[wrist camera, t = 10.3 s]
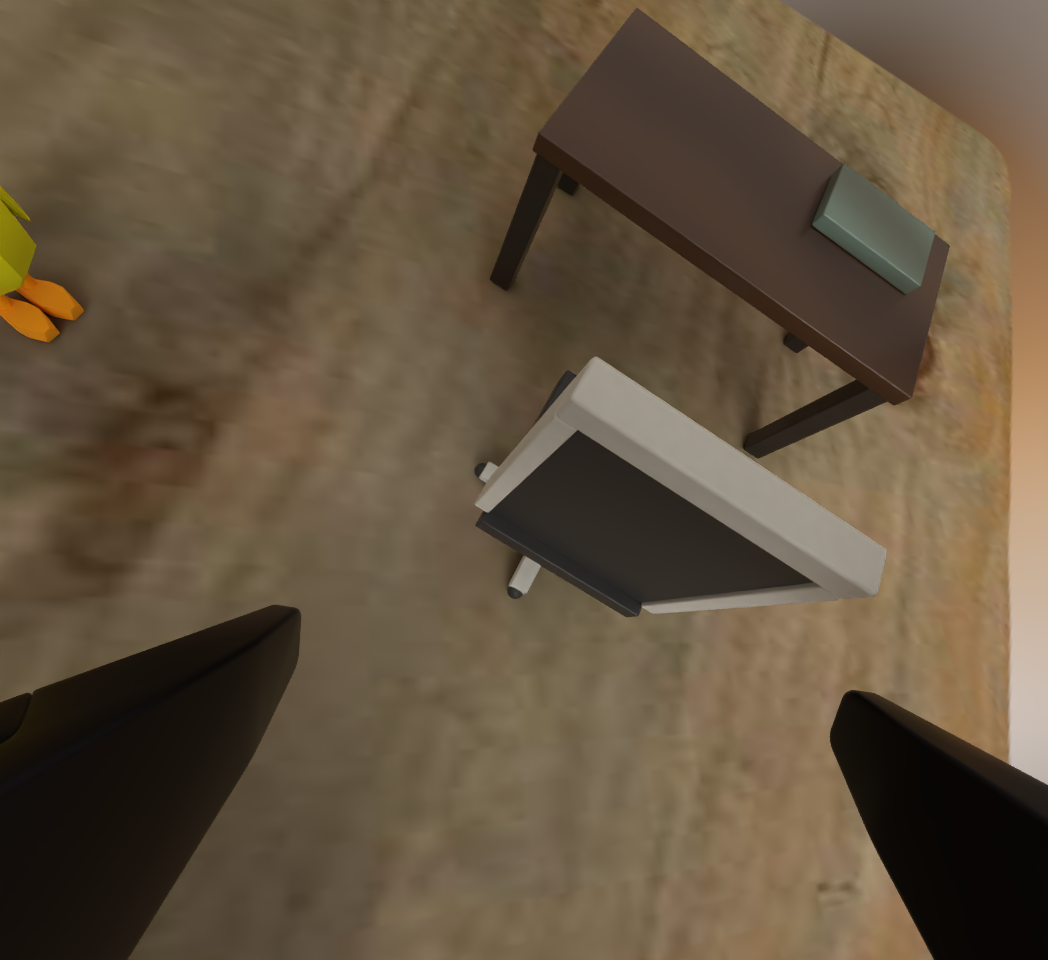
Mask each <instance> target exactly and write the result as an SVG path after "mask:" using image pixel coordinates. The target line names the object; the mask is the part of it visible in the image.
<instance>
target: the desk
mask: <svg viewBox="0 0 1048 960" xmlns="http://www.w3.org/2000/svg"><path fill="white" fill-rule="evenodd" d="M533 151H534V152H535V153H537V155H536V158H535V160H534V163H533V166H532V168H531V171H530V174H529V176H528V179H527V182H526V184H525V187H524V189H523V192H522V195H521V197H520V200H519V203H518V205H517V208H516V211H515V213H514V216H513V219H512V221H511V224H510V227H509V229H508V232H507V235H506V237H505V240H504V243H503V245H502V248H501V251H500V253H499V256H498V258H497V261H496V264H495V266H494V269H493V272H492V274H491V277H490V280H491V281H492V282H494V283H495V284H497V285H498V286H500V287H501V288H503V289H504V290H506V291H507V290H508V289H509V287H510V286H511V284H512V283H513V281H514V280H515V278H516V276H517V274H518V272H519V270H520V268H521V265H522V263H523V261H524V259H525V256H526V254H527V252H528V250H529V247H530V245H531V243H532V241H533V239H534V236H535V234H536V232H537V230H538V227H539V225H540V223H541V221H542V218H543V216H544V214H545V212H546V210H547V207H548V205H549V203H550V201H551V198H552V196H553V194H554V192H555V189H556V187H557V185H558V186H559V187H560V188H562V189H563V190H565V191H566V192H568V193H569V194H570V195H573V194H574V193H575V191H576V190H577V189H578V187H579V186H580V184H581V185H582V186H583V187H585V188H586V189H588V190H589V191H590V192H592V193H593V194H595V195H596V196H598V197H599V198H600V199H602V200H603V201H605V202H606V203H607V204H609V205H610V206H612V207H613V208H615V209H616V210H617V211H619V212H620V213H622V214H623V215H624V216H626V217H627V218H629V219H630V220H632V221H633V222H634V223H636V224H637V225H639V226H640V227H641V228H643V229H644V230H646V231H647V232H648V233H650V234H651V235H653V236H654V237H656V238H657V239H658V240H660V241H661V242H663V243H664V244H665V245H667V246H668V247H670V248H671V249H673V250H674V251H675V252H677V253H678V254H680V255H681V256H682V257H684V258H685V259H687V260H688V261H690V262H691V263H692V264H694V265H695V266H697V267H698V268H699V269H701V270H702V271H704V272H705V273H707V274H708V275H709V276H711V277H712V278H714V279H715V280H716V281H718V282H719V283H721V284H722V285H724V286H725V287H726V288H728V289H729V290H731V291H732V292H733V293H735V294H736V295H738V296H739V297H741V298H742V299H743V300H745V301H746V302H748V303H749V304H750V305H752V306H753V307H755V308H756V309H758V310H759V311H760V312H762V313H763V314H765V315H766V316H767V317H769V318H770V319H772V320H773V321H775V322H776V323H777V324H779V325H780V326H782V327H783V328H784V329H786V330H787V331H789V332H788V335H787V337H786V340H785V342H784V344H785V345H786V346H787V347H789V348H790V349H792V350H793V351H795V352H796V353H798V352H800V351H801V350H803V349H804V348H806V347H807V346H810V347H811V348H813V349H814V350H816V351H817V352H818V353H820V354H821V355H823V356H824V357H826V358H827V359H828V360H830V361H831V362H833V363H834V364H835V365H837V366H838V367H840V368H841V369H843V370H844V371H845V372H847V373H848V374H850V375H851V376H852V377H854V378H855V379H857V380H855V381H853V382H851V383H849V384H847V385H845V386H843V387H841V388H839V389H837V390H835V391H833V392H831V393H829V394H827V395H825V396H823V397H821V398H819V399H817V400H815V401H814V402H812V403H810V404H808V405H806V406H804V407H802V408H800V409H798V410H796V411H794V412H792V413H790V414H788V415H786V416H784V417H782V418H780V419H778V420H776V421H774V422H773V423H771V424H769V425H767V426H765V427H763V428H761V429H759V430H757V431H755V432H753V433H751V434H749V436H748V438H747V441H746V443H745V446H744V450H746V451H747V452H749V453H750V454H752V455H753V456H755V457H756V458H760V457H763V456H765V455H767V454H769V453H772V452H774V451H776V450H779V449H781V448H783V447H785V446H788V445H790V444H792V443H794V442H797V441H799V440H801V439H804V438H806V437H808V436H810V435H813V434H815V433H817V432H819V431H822V430H824V429H826V428H828V427H831V426H833V425H835V424H838V423H840V422H842V421H844V420H847V419H849V418H851V417H853V416H856V415H858V414H860V413H863V412H865V411H867V410H869V409H872V408H874V407H876V406H878V405H881V404H883V403H885V402H889V403H891V404H892V405H897V404H899V403H901V402H904V401H906V400H908V399H911V398H912V396H913V392H914V387H915V383H916V379H917V375H918V371H919V367H920V363H921V359H922V355H923V351H924V347H925V343H926V339H927V335H928V331H929V327H930V323H931V319H932V315H933V311H934V307H935V303H936V299H937V295H938V291H939V287H940V283H941V279H942V275H943V271H944V267H945V263H946V259H947V255H948V251H949V247H950V246H949V244H947V243H946V242H945V241H943V240H942V239H941V238H939V237H938V236H937V235H935V231H933V230H932V229H931V228H929V227H928V226H927V225H926V224H924V223H923V222H922V221H920V220H919V219H918V218H916V217H915V216H914V215H912V214H911V213H910V212H908V211H907V210H906V209H904V208H903V207H902V206H901V205H899V204H898V203H897V202H895V201H894V200H893V199H891V198H890V197H889V196H887V195H886V194H885V193H883V192H882V191H881V190H880V189H878V188H877V187H876V186H874V185H873V184H872V183H870V182H869V181H868V180H866V179H865V178H864V177H862V176H861V175H860V174H859V173H857V172H856V171H855V170H853V169H852V168H851V167H849V166H848V165H847V164H845V163H844V164H842V163H841V162H839V161H838V160H837V159H836V158H834V157H833V156H832V155H830V154H829V153H828V152H826V151H825V150H824V149H822V148H821V147H820V146H818V145H817V144H816V143H814V142H813V141H812V140H811V139H809V138H808V137H807V136H805V135H804V134H803V133H801V132H800V131H799V130H797V129H796V128H795V127H793V126H792V125H791V124H789V123H788V122H787V121H786V120H784V119H783V118H782V117H780V116H779V115H778V114H776V113H775V112H774V111H772V110H771V109H770V108H768V107H767V106H766V105H764V104H763V103H762V102H761V101H759V100H758V99H757V98H755V97H754V96H753V95H751V94H750V93H749V92H747V91H746V90H745V89H743V88H742V87H741V86H740V85H738V84H737V83H736V82H734V81H733V80H732V79H730V78H729V77H728V76H726V75H725V74H724V73H722V72H721V71H720V70H718V69H717V68H716V67H715V66H713V65H712V64H711V63H709V62H708V61H707V60H705V59H704V58H703V57H701V56H700V55H699V54H697V53H696V52H695V51H693V50H692V49H691V48H690V47H688V46H687V45H686V44H684V43H683V42H682V41H680V40H679V39H678V38H676V37H675V36H674V35H672V34H671V33H670V32H668V31H667V30H666V29H665V28H663V27H662V26H661V25H659V24H658V23H657V22H655V21H654V20H653V19H651V18H650V17H649V16H647V15H646V14H645V13H644V12H642V11H641V10H640V9H638V8H636V9H635V10H634V12H633V13H632V14H631V15H630V17H629V18H628V19H627V21H626V22H625V23H624V24H623V26H622V27H621V28H620V29H619V31H618V32H617V33H616V35H615V36H614V37H613V38H612V40H611V41H610V42H609V43H608V45H607V46H606V47H605V49H604V50H603V51H602V52H601V54H600V55H599V56H598V57H597V59H596V60H595V61H594V63H593V64H592V65H591V66H590V68H589V69H588V70H587V72H586V73H585V74H584V75H583V77H582V78H581V79H580V80H579V82H578V83H577V84H576V86H575V87H574V88H573V89H572V91H571V92H570V93H569V94H568V96H567V97H566V98H565V100H564V101H563V102H562V103H561V105H560V106H559V107H558V108H557V110H556V111H555V112H554V114H553V115H552V116H551V117H550V119H549V120H548V121H547V123H546V124H545V125H544V126H543V128H542V129H541V130H540V131H539V133H538V136H537V138H536V141H535V144H534V147H533Z"/></svg>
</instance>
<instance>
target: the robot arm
mask: <svg viewBox="0 0 1048 960" xmlns="http://www.w3.org/2000/svg"><path fill="white" fill-rule="evenodd" d="M300 629H301V613H300V611H299V609H298V608H295V607H288V606H281V605H271V606H268V607H265V608H263V609H260V610H257V611H254V612H251V613H249V614H246V615H243V616H240V617H238V618H235V619H232V620H229V621H226V622H224V623H221V624H218V625H215V626H212V627H210V628H207V629H204V630H201V631H198V632H196V633H193V634H190V635H187V636H184V637H182V638H179V639H176V640H173V641H171V642H168V643H165V644H162V645H159V646H157V647H154V648H151V649H148V650H145V651H143V652H140V653H137V654H134V655H131V656H129V657H126V658H123V659H120V660H117V661H115V662H112V663H109V664H106V665H104V666H101V667H98V668H95V669H92V670H90V671H87V672H84V673H81V674H78V675H76V676H73V677H70V678H67V679H64V680H62V681H59V682H56V683H53V684H50V685H48V686H45V687H42V688H39V689H37V690H35V691H34V692H33V694H32V695H31V694H30V693H25V694H22V695H19V696H16V697H14V698H11V699H8V700H5V701H3V702H0V960H128V958H129V956H130V955H131V953H132V952H133V950H134V948H135V947H136V945H137V944H138V942H139V940H140V939H141V937H142V935H143V934H144V932H145V931H146V929H147V927H148V926H149V924H150V923H151V921H152V919H153V918H154V916H155V914H156V913H157V911H158V910H159V908H160V906H161V905H162V903H163V902H164V900H165V898H166V897H167V895H168V893H169V892H170V890H171V889H172V887H173V885H174V884H175V882H176V881H177V879H178V877H179V876H180V874H181V873H182V871H183V869H184V868H185V866H186V864H187V863H188V861H189V860H190V858H191V856H192V855H193V853H194V852H195V850H196V848H197V847H198V845H199V843H200V842H201V840H202V839H203V837H204V835H205V834H206V832H207V831H208V829H209V827H210V826H211V824H212V822H213V821H214V819H215V818H216V816H217V814H218V813H219V811H220V810H221V808H222V806H223V805H224V803H225V801H226V800H227V798H228V797H229V795H230V793H231V792H232V790H233V789H234V787H235V785H236V784H237V782H238V780H239V779H240V777H241V776H242V774H243V772H244V771H245V769H246V767H247V766H248V764H249V762H250V760H251V759H252V757H253V755H254V753H255V751H256V749H257V747H258V745H259V743H260V741H261V739H262V737H263V735H264V733H265V731H266V729H267V727H268V725H269V723H270V720H271V718H272V716H273V714H274V712H275V710H276V708H277V706H278V704H279V702H280V700H281V697H282V695H283V693H284V691H285V689H286V687H287V685H288V683H289V681H290V679H291V677H292V674H293V672H294V670H295V668H296V665H297V661H298V656H299V644H300ZM830 743H831V747H832V750H833V752H834V754H835V757H836V759H837V762H838V764H839V766H840V769H841V771H842V773H843V776H844V778H845V780H846V783H847V785H848V787H849V790H850V792H851V794H852V797H853V799H854V802H855V804H856V806H857V809H858V811H859V813H860V816H861V818H862V820H863V823H864V825H865V827H866V830H867V832H868V834H869V836H870V838H871V841H872V843H873V845H874V847H875V849H876V851H877V853H878V855H879V857H880V859H881V861H882V862H883V864H884V866H885V868H886V870H887V872H888V874H889V876H890V878H891V879H892V881H893V883H894V885H895V887H896V889H897V891H898V893H899V895H900V896H901V898H902V900H903V902H904V904H905V906H906V908H907V910H908V912H909V914H910V915H911V917H912V919H913V921H914V923H915V925H916V927H917V929H918V931H919V932H920V934H921V936H922V938H923V940H924V942H925V944H926V946H927V948H928V950H929V951H930V953H931V955H932V957H933V959H934V960H1048V785H1047V784H1045V783H1043V782H1041V781H1039V780H1037V779H1035V778H1033V777H1032V776H1030V775H1028V774H1026V773H1024V772H1022V771H1020V770H1018V769H1016V768H1015V767H1012V766H1011V765H1009V764H1007V763H1005V762H1003V761H1001V760H1000V759H998V758H996V757H994V756H992V755H990V754H988V753H986V752H985V751H983V750H981V749H979V748H977V747H975V746H973V745H971V744H970V743H968V742H966V741H964V740H962V739H960V738H958V737H956V736H954V735H953V734H951V733H949V732H947V731H945V730H943V729H941V728H939V727H938V726H936V725H934V724H932V723H930V722H928V721H926V720H924V719H923V718H921V717H919V716H917V715H915V714H913V713H911V712H909V711H907V710H906V709H904V708H902V707H900V706H898V705H896V704H894V703H892V702H891V701H889V700H887V699H885V698H883V697H881V696H879V695H877V694H875V693H871V692H864V691H857V690H850V691H848V692H846V693H845V694H844V696H843V698H842V700H841V703H840V706H839V709H838V711H837V714H836V717H835V720H834V722H833V725H832V728H831V731H830Z"/></svg>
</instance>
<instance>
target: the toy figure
mask: <svg viewBox="0 0 1048 960" xmlns="http://www.w3.org/2000/svg"><path fill="white" fill-rule="evenodd" d="M14 215H15V216H18V217H21V218H23V219H26V220H28V221H30V219H29V217H28V216H27V214H26V213H25V212H24V211H23V210H22V208H21V207H20V206H19V205H18V204H17V202H16V201H15V200H14V199H13V198H12V197H11V196H10V195H9V194H8V193H7V192H6V191H5V190H4V189H3V188H2V187H1V186H0V315H1V316H2V317H3V318H4V319H5V320H6V321H7V322H8V323H9V324H10V325H12V326H13V327H14V328H15V329H16V330H17V331H18V332H20V333H22V334H23V335H25V336H27V337H29V338H32V339H36V340H40V341H44V342H48V343H50V342H51V341H52V340H53V339H54V338H55V337H56V336H58V335H59V334H60V332H59V331H58V330H57V328H56V327H55V326H54V324H53V323H52V322H51V321H50V319H49V318H48V317H47V316H46V315H45V314H44V313H43V312H45V313H47V314H49V315H51V316H53V317H57V318H62V319H67V320H72V321H75V320H76V319H77V318H78V317H79V316H80V315H81V314H82V313H83V312H84V310H83V308H82V307H81V306H80V304H79V303H78V302H77V301H76V300H75V299H74V298H73V297H72V296H71V295H70V294H69V293H68V292H67V291H66V290H65V289H64V288H63V287H62V286H59V285H57V284H54V283H52V282H48V281H43V280H37V279H33V278H32V276H31V275H30V274H29V273H28V270H29V267H30V264H31V261H32V258H33V255H34V252H35V249H36V246H37V245H36V244H35V243H34V241H33V240H32V239H31V237H30V236H29V235H28V233H27V232H26V231H25V230H24V228H23V227H22V226H21V224H20V223H19V222H18V220H17V219H16V218H15V216H14ZM14 290H16V291H17V292H18V293H20V294H21V295H22V296H24V297H25V298H26V299H27V300H29V301H30V302H31V303H33V304H34V305H35V306H37V307H38V308H37V307H35V306H33V305H31V304H29V303H27V302H23V301H20V300H16V299H12V298H8V297H6V296H5V295H4V294H6V293H9V292H11V291H14ZM40 309H41V310H42V311H43V312H42V311H41V310H40Z"/></svg>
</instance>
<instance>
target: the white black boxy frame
mask: <svg viewBox="0 0 1048 960" xmlns="http://www.w3.org/2000/svg"><path fill="white" fill-rule="evenodd" d="M475 474H476V476H477V477H478V478H479V479H481V480H482V481H484V482H486V485H485V486H484V488H483V490H482V491H481V493H480V495H479V496H478V498H477V500H476V502H475V506H477V507H479V508H480V509H482V510H484V511H483V512H482V514H481V516H480V517H479V519H478V521H477V523H476V527H478V528H480V529H481V530H483V531H485V532H486V533H488V534H490V535H491V536H493V537H495V538H496V539H498V540H500V541H501V542H503V543H505V544H506V545H508V546H509V547H511V548H513V549H514V550H516V551H518V552H519V553H521V554H523V555H524V556H523V558H522V560H521V562H520V563H519V565H518V567H517V569H516V571H515V573H514V575H513V577H512V579H511V580H510V582H509V586H508V589H507V591H508V594H509V596H510V597H511V598H514V599H517V598H520V597H521V596H522V595H523V594H527V592H528V590H529V588H530V586H531V584H532V582H533V580H534V579H535V577H536V575H537V573H538V571H539V569H540V567H541V566H543V567H544V568H546V569H547V570H549V571H551V572H552V573H554V574H556V575H557V576H559V577H561V578H562V579H564V580H566V581H567V582H569V583H571V584H572V585H574V586H576V587H577V588H579V589H581V590H582V591H584V592H586V593H587V594H589V595H590V596H592V597H594V598H595V599H597V600H599V601H600V602H602V603H604V604H605V605H607V606H609V607H610V608H612V609H614V610H615V611H617V612H619V613H620V614H622V615H624V616H625V617H634V616H638V615H639V613H640V611H641V608H642V607H643V608H644V609H646V610H647V611H649V612H651V613H652V614H658V613H672V612H686V611H699V610H713V609H726V608H740V607H754V606H767V605H781V604H795V603H808V602H822V601H836V600H839V599H840V598H841V599H852V598H865V597H874V596H876V595H877V593H878V589H879V584H880V580H881V576H882V572H883V568H884V563H885V559H886V555H887V550H886V549H885V548H884V547H883V546H881V545H880V544H878V543H877V542H875V541H874V540H872V539H871V538H869V537H868V536H866V535H865V534H863V533H862V532H860V531H859V530H857V529H856V528H854V527H853V526H851V525H850V524H848V523H847V522H845V521H844V520H842V519H841V518H839V517H838V516H836V515H835V514H833V513H832V512H830V511H829V510H827V509H826V508H824V507H823V506H821V505H820V504H818V503H817V502H815V501H814V500H812V499H811V498H809V497H808V496H806V495H805V494H803V493H802V492H800V491H798V490H797V489H795V488H794V487H792V486H791V485H789V484H788V483H786V482H785V481H783V480H782V479H780V478H779V477H777V476H776V475H774V474H773V473H771V472H770V471H768V470H767V469H765V468H764V467H762V466H761V465H759V464H758V463H756V462H755V461H753V460H752V459H750V458H749V457H747V456H746V455H744V454H743V453H741V452H740V451H738V450H737V449H735V448H734V447H732V446H731V445H729V444H728V443H726V442H725V441H723V440H722V439H720V438H719V437H717V436H716V435H714V434H713V433H711V432H710V431H708V430H707V429H705V428H704V427H702V426H701V425H699V424H698V423H696V422H695V421H693V420H692V419H690V418H689V417H687V416H686V415H684V414H683V413H681V412H680V411H678V410H677V409H675V408H674V407H672V406H671V405H669V404H668V403H666V402H665V401H663V400H662V399H660V398H659V397H657V396H656V395H654V394H653V393H651V392H650V391H648V390H647V389H645V388H644V387H642V386H641V385H639V384H638V383H636V382H635V381H633V380H632V379H630V378H629V377H627V376H626V375H624V374H623V373H621V372H620V371H618V370H617V369H615V368H614V367H612V366H611V365H609V364H608V363H606V362H605V361H603V360H602V359H600V358H599V357H593V358H592V359H591V360H590V361H589V362H588V363H587V364H586V366H585V367H584V368H583V369H582V370H581V371H580V373H579V374H578V375H575V374H574V373H572V372H571V371H569V370H567V371H566V372H565V374H564V375H563V376H562V377H561V379H560V380H559V382H558V383H557V385H556V387H555V388H554V390H553V392H552V394H551V395H550V397H549V399H548V401H547V402H546V404H545V406H544V407H543V409H542V411H541V413H540V414H539V416H538V418H537V419H536V421H535V423H534V425H533V426H532V428H531V430H530V431H529V432H528V433H527V435H526V436H525V437H524V438H523V439H522V440H521V442H520V443H519V444H518V445H517V446H516V447H515V449H514V450H513V451H512V452H511V453H510V455H509V456H508V457H507V458H506V459H505V460H504V462H503V463H502V464H501V465H500V466H499V467H498V466H496V465H494V464H493V463H491V462H488V463H487V464H485V463H480V464H478V465H477V466H476V468H475Z"/></svg>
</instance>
